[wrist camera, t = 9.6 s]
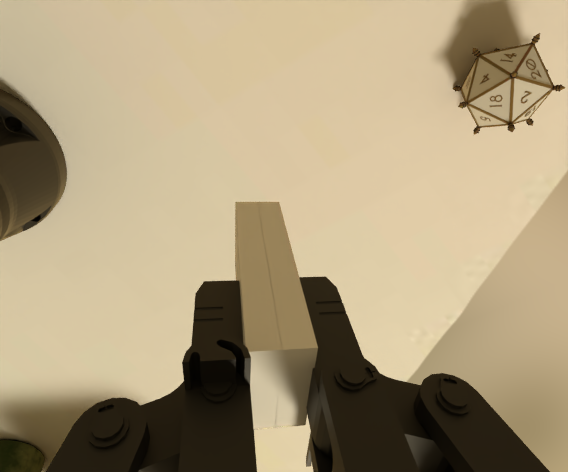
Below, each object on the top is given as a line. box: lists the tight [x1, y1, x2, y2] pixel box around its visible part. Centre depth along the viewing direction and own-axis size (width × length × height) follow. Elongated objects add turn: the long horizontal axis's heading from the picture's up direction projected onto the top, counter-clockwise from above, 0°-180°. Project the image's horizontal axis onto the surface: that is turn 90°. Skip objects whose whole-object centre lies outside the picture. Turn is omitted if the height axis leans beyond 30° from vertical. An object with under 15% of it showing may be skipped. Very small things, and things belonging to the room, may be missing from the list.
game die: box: [453, 33, 565, 134], centre depth 38 cm, size 9×8×10 cm
